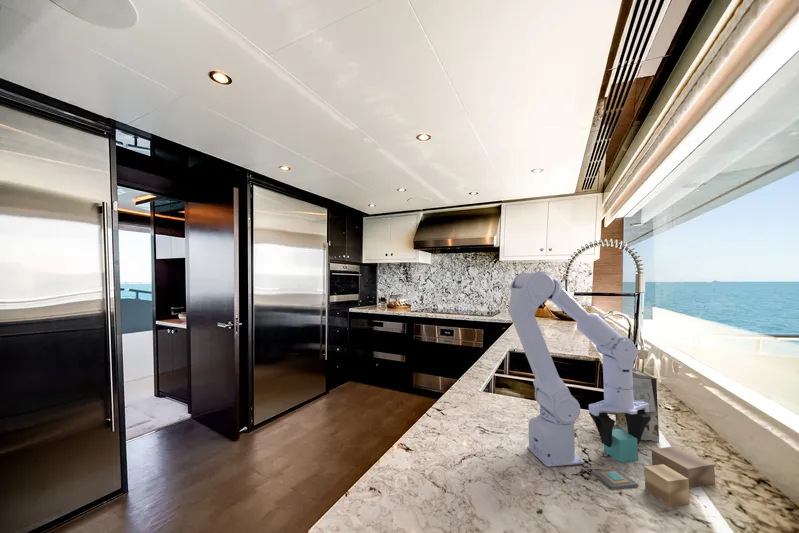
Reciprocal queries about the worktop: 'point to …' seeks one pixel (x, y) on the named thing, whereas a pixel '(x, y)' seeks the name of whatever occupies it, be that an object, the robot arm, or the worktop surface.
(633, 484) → the card
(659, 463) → the walnut block
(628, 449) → the teal block
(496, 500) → the worktop surface
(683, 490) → the oak block
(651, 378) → the coffee box
